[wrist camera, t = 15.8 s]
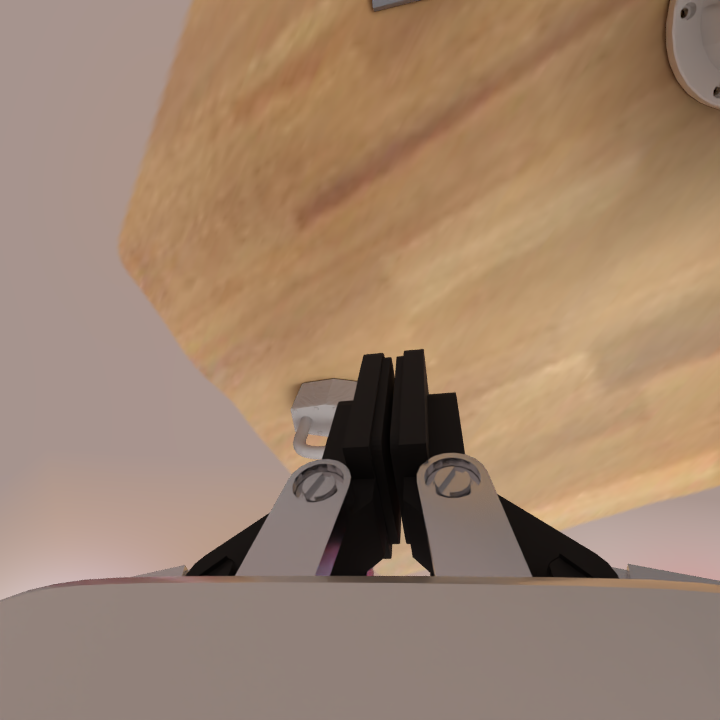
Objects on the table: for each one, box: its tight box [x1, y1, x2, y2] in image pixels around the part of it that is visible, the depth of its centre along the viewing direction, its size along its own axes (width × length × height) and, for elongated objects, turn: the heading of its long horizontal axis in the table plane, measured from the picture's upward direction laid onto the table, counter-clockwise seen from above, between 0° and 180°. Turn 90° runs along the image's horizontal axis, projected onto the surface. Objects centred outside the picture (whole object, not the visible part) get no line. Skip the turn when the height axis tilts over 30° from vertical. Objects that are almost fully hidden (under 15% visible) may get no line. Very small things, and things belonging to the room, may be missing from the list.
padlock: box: [291, 379, 357, 459], centre depth 41 cm, size 7×4×10 cm, turn 95°
